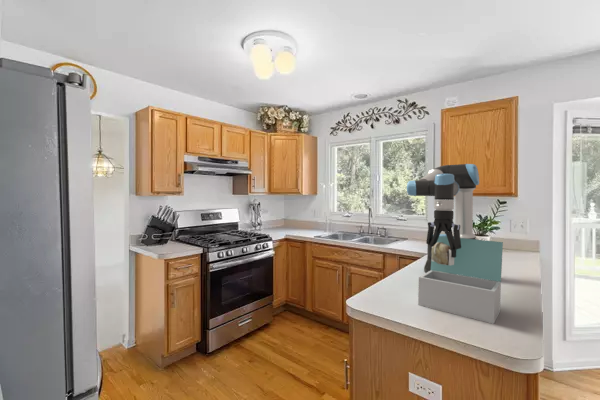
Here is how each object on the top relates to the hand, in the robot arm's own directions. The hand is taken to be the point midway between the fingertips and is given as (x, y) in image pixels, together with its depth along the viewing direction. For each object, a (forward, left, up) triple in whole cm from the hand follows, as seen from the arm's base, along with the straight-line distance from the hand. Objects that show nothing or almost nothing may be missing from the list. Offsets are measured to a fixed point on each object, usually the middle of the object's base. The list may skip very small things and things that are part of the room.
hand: (442, 262), depth 126 cm
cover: (-8, +7, +2) cm, 11 cm away
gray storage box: (+1, +7, -17) cm, 19 cm away
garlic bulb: (0, 0, 0) cm, 1 cm away
